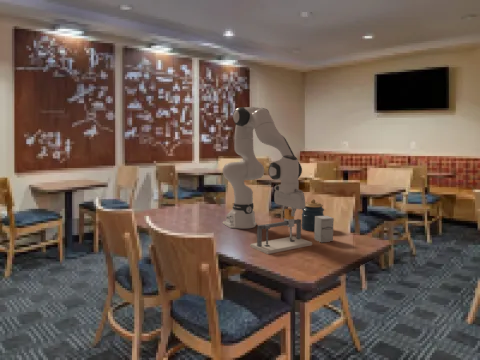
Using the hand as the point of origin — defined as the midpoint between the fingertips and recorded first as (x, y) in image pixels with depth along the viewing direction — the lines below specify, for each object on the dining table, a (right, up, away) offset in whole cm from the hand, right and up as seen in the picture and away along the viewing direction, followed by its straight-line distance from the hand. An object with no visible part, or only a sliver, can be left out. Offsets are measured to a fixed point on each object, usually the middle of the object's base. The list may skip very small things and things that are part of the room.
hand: (289, 215), depth 200 cm
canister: (+18, -11, +33) cm, 40 cm away
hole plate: (-4, -15, -3) cm, 16 cm away
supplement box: (+19, -14, +7) cm, 25 cm away
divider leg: (0, -12, +1) cm, 12 cm away
